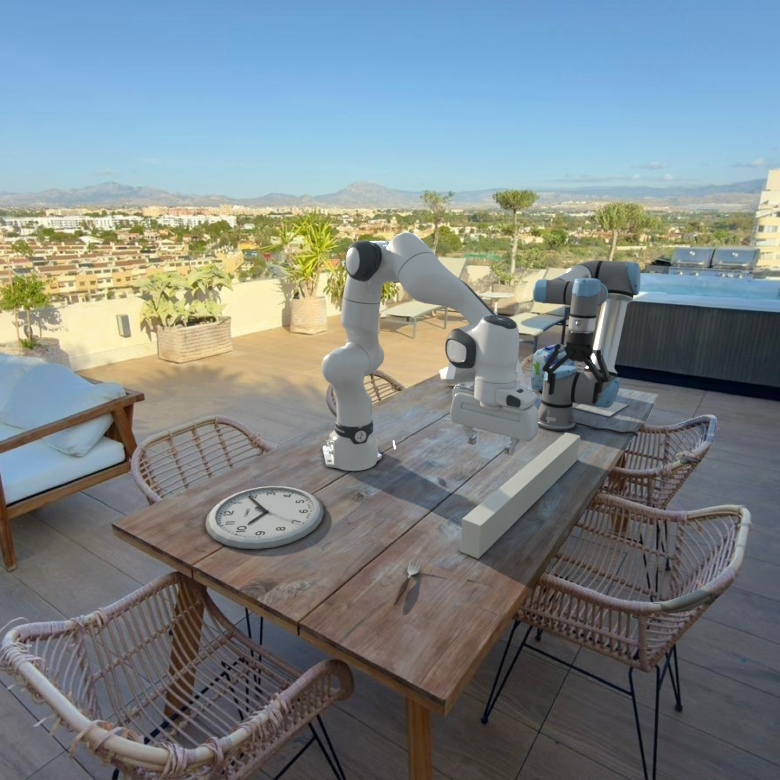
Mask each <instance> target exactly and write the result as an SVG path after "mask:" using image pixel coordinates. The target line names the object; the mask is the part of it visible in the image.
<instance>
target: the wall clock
mask: <svg viewBox="0 0 780 780" xmlns="http://www.w3.org/2000/svg"><path fill="white" fill-rule="evenodd" d="M324 514H325V512H324V508H323V504H322V502H321V501H320V500H319V499H318V498H317V497H316V496H315V495H313V494H311V493H309V492H308V491H305V490H302V489H299V488H296V487H291V486H283V485H282V486H281V485H269V486H259V487H253V488H249V489H245V490H242V491H239V492H236V493H234V494H232V495H229V496H228V497H226V498H224V499H222V500H221V501H219V502H218V503H217V504H216V505H215V506H213V507H212V508H211V510H210V511H209V512H208V514H207V516H206V519H205V528H206V531H207V534H208V535H209V536H210V537H211V538H212V539H213V540H214V541H216V542H217V543H221V544H223V545H224V546H227V547H232V548H235V549H236V548H237V549H241V550H242V549H243V550H244V549H246V550H262V549H273V548H276V547H280V546H285V545H288V544H292V543H293V542H297V541H298V540H301V539H303V538H305V537H306V536H308V535H309V534H311V533H312V532H314V531H315V530H316V529H317V528H318V526H319V525H320V524H321V523H322V520H323V517H324Z"/></svg>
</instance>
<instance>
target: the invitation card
mask: <svg viewBox="0 0 780 780" xmlns="http://www.w3.org/2000/svg"><path fill="white" fill-rule="evenodd" d="M628 406H629V404H627V403H623V402H618V401H614V403H613V404H612V405H611V406H610V407H609V408H603V407H596V406H590V405H585V404H580V403H579V404H578V405H575V406H574V407H573V409H575V410H581V411H584V412H587V413H593V414H596V415H600V416H604V417H608V418H609V417H611V416H613V415H614V414H616V413H617V412H619V411H621V410H623V409H624V408H626V407H628Z"/></svg>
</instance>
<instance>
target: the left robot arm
mask: <svg viewBox="0 0 780 780" xmlns="http://www.w3.org/2000/svg"><path fill="white" fill-rule="evenodd" d="M344 267H345V270H346V273H347V275H346V278H345V282H344V287H343V288H344V289H343V295H342V301H341V303H342V304H341V313H340V324H341V327H342V328H343V329H344V330H345V335H346V343H345V345H342V346H340V347H337V348H335V349H333V350H331V351H330V352H328V354H326V355H325V356H324V357H323V359H322V361H321V365H320V369H321V373H322V376H323V378H324V380H325V381H326V382H328V383H329V384H330V386H331V387H332V390H333V392H334V397H335V405H336V417H335V418H336V419H335V423H334V429H333V431H331V432H330V433H329V435H328V439H325V440H324V442H325V443H324V444H325V445H323V446H322V453H323V454H322V455H323V458H324V463H325V466H326V467H327V468H333V469H334V468H335V469H338V470H341V471H346V472H347V471H349V472H358V471H359V472H360V471H364V470H369V469H371V468H373V467H374V466H375V465H376V464H377V462H378V461H379V460H381V459H382V458H383V456H382V454H381V453H380V452H379V449H378V436H377V434H376V433H374V420H373V415H372V414H373V398H372V396H371V394H369V392H367V390H366V387H365V382H364V381H365V379H364V378H365V377H366V376H369V375H371V374H373V373H374V372H376V371H377V370H378V369H379V368H380V367H381V366H382V365H383V363H384V361H385V351H384V349H383V347H382V345H381V344H380V339H379V332H378V330H379V329H378V323H379V317H380V308H381V300H382V291H383V287H384V285H385V284H386V283H393V284H398V283H400V285H401V287H402V288H403V290H404V291H405V292H406V294H408V296H410V298H413V300H415V301H417V302H419V303H423V304H428V305H435V306H439V307H440V306H441V307H445V308H449V309H452V310H454V311H456V312H457V313H458V314H460V315H461V316H462V317H463V318H464V319H465V320H466V321H467V322H468V323H469V324H468V325H463V326H459V327H456V328H453V329H452V330H451V331H450V332H449V333H448V335H447V336H446V339H445V344H444V351H445V355H446V358H447V360H448V363H449V362H450V363H451V364H452V365H453V366H455V367H457V368H463V369H469V368H471V369H474V370H475V371H476V375H475V383H474V385H468V384H466V383H459V384H455V385H454V386H453V388H452V393H451V394H452V395H451V396H452V401H451V406H450V411H449V418H450V421H451V422H452V423H454V424H458V425H462V426H463V431H464V433H465V436H466V437H467V440H466V443H467V444H468V445H471V446H474V445H475V444H477V439H478V438H477V437H478V436H477V435H474V432H473V430H472V429H473V428H474V429H477V430H481V431H485V432H490V433H493V434H497V435H500V436H505V437H509V438H510V442H512V443H511V444H507V445H506V446H505V447H504V455H508V456H513V455H514V454H515V447H516V446H517V445H518V444H519V443H520V442H521V441H524V442H531V441H532V440H533V439H535V438H536V437H537V436H538V432H539V426H538V408H537V406H536V405H535V403H536V402H537V401H538V400H537V399H538V395H537V393H536V392H534V391H532V390H530V389H529V388H528V389H527V388H525V387H523V386H521V383H518V382H517V373H516V372H517V371H516V364H517V362H518V359H519V356H520V355H519V354H520V331H519V326H518V323H517V322H516V321H515V320H514V319H512V318H511V317H508V316H505V315H500V314H498V315H496V314H495V313H494V311H493V310H492V309H491V307H489V305H488V304H487V303H486V302H485V301H484V300H483V299H482V298H481V297H480V296H479V294H477V293H476V292H475V290H474V289H472V287H471V286H470V285H469V284H467V283H466V281H463V280H462V279H461V278H459V276H457V275H455V274H454V273H452V271H450V270H449V269H448V268H447V267H446V266H445V265H444V263H442V262H441V260H439V258H438V257H437V255H435V253H434V252H433V250H432V249H431V248H430V247H429V246H428V245H427V243H426V242H424V241H423V240H422V238H420V237H419V236H418V235H417V234H415V233H413V232H407V231H406V232H400V233H399V234H396V235H395V236H394V237H393V238H392V239H391V240H359V241H355V242H353V243H351V244H350V245H349V246H348V248H347V249H346V251H345V255H344ZM392 444H393V449H394V450H396V444H395V440H392Z"/></svg>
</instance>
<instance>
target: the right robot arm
mask: <svg viewBox="0 0 780 780" xmlns="http://www.w3.org/2000/svg"><path fill="white" fill-rule="evenodd" d="M640 290H641V266H640V264H639V263H638V262H635V261H627V260H625V261H623V260H601V259H595V260H588V261H584V262H580V263H577V264H575V265H573V266H570V267H569V268H568V269H567V271H566V272H565V273H562V274H560V275H558V276H556V277H554V278H552V279H546V278H545V279H542V278H541V279H537V280H536V281H535V282H534V284H533V288H532V298H533V301H534V302H536V303H540V304H549V305H550V304H551V305H561V306H570V310H569V311H570V312H569V318H568V327H567V328H568V330H567V334H566V344H562V343H561V342H558V343H555V344H556V345H555V344H554V345H555V349H554V352H553V353H552V355H551V356H550V358H549V359H548V361H547V362H546V364H545V365H544V367H543V368H542V370H543V371H545V375H544V379H543V381H544V382H543V391H541V392H542V394H541V402H540V405H539V407H538V408H537V410H538V428H542V429H544V430H549V431H556V432H567V431H572V430H574V429H575V428H576V425H577V426H581V427H585V428H588V429H592V430H596V431H603V432H604V431H605V432H611V433H615V434H620V435H626V434H630V435H631V434H632V435H634V436H635V437H639V435H638V433H637V432H635V431H633V430H627V431H620V430H616V429H612V428H607V427H605V428H604V427H597V426H592V425H589V424H586V423H582V422H578V421H576V418H575V417H576V416H575V413H574V407H573V405H574V403H575V404H579V405H580V404H585V405H590V406H596V407H603V408H609V407H610V406H611V405H612V404H613V403H614V402H616V401H615V400H616V398H617V396H618V394H619V390H620V385H621V378H620V377H618V371H617V370H616V369H615V365H616V360H617V356H618V351H619V345H620V341H621V336H622V332H623V327H624V322H625V317H626V312H627V308H628V304H630V303H631V302H633V300H634V296H638V295H639V294H640ZM598 307H600V311H599V316H598V321H597V313H598ZM596 321H597V325H596ZM595 330H596V331H595ZM594 331H595V333H594ZM563 349H564V350H565V352H566V354H567V355H565V356H564V357H563V358H562V359H561V360H560V361H559V362H558V363H557V364H555V365H554V366H553V367H550V366H551V364H552V363H553V361H554V360H555V358H556V357H557V356H558V354H559V352H560V351H562V350H563ZM568 359H570V360H571V361H574V362H578V363H584V364H585V365H586V366H585V367H584V368H583V371H582V372H581V371H578V367H577V366H575V365H574V366H567V365H562V364H563V363H565V362H566V361H567V360H568ZM561 365H562V366H561ZM549 367H550V368H549Z"/></svg>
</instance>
